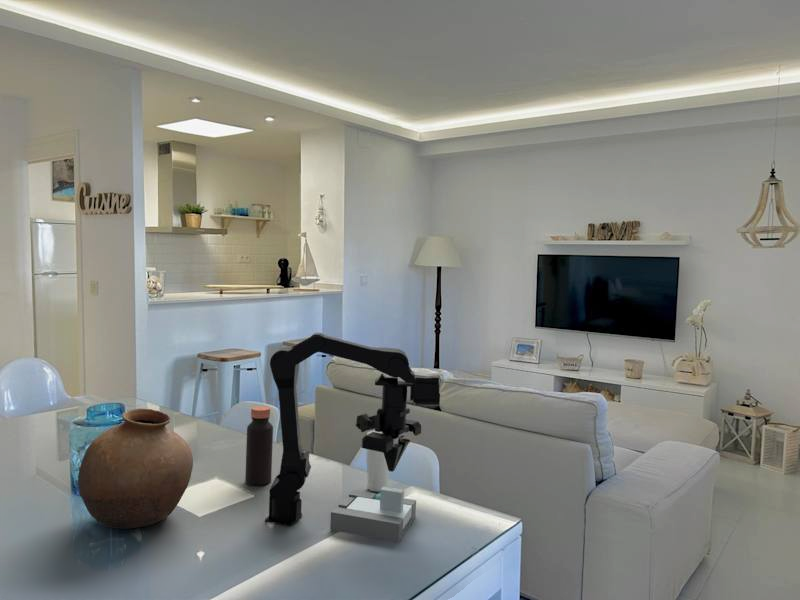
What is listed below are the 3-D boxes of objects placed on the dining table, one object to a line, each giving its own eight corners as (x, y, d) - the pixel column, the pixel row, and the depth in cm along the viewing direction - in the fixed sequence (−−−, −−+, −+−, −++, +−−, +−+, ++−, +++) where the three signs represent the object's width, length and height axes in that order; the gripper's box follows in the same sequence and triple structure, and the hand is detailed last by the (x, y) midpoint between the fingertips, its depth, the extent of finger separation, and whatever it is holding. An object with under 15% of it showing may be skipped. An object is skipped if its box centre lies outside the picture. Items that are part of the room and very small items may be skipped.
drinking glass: (386, 495, 153) (389, 438, 153) (361, 491, 155) (364, 435, 154) (392, 485, 160) (394, 431, 159) (368, 482, 161) (370, 428, 161)
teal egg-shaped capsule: (373, 508, 141) (373, 497, 141) (377, 503, 144) (378, 492, 144) (386, 510, 140) (387, 499, 140) (391, 505, 143) (391, 494, 143)
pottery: (82, 508, 137) (84, 402, 135) (188, 497, 146) (190, 397, 145) (71, 554, 116) (73, 429, 115) (195, 537, 125) (198, 421, 124)
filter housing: (330, 529, 132) (330, 512, 132) (352, 505, 146) (353, 490, 145) (398, 542, 128) (399, 524, 127) (415, 516, 141) (416, 500, 141)
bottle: (256, 488, 154) (258, 412, 153) (239, 481, 158) (242, 407, 157) (276, 481, 159) (279, 408, 158) (260, 475, 163) (262, 403, 162)
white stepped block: (345, 519, 134) (347, 488, 134) (357, 507, 142) (358, 478, 141) (402, 530, 131) (404, 498, 130) (411, 516, 138) (413, 486, 137)
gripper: (383, 392, 148) (380, 454, 149) (342, 407, 131) (339, 476, 132) (423, 399, 143) (420, 462, 143) (386, 414, 126) (383, 486, 127)
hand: (391, 471), depth 137 cm, fingers closed
